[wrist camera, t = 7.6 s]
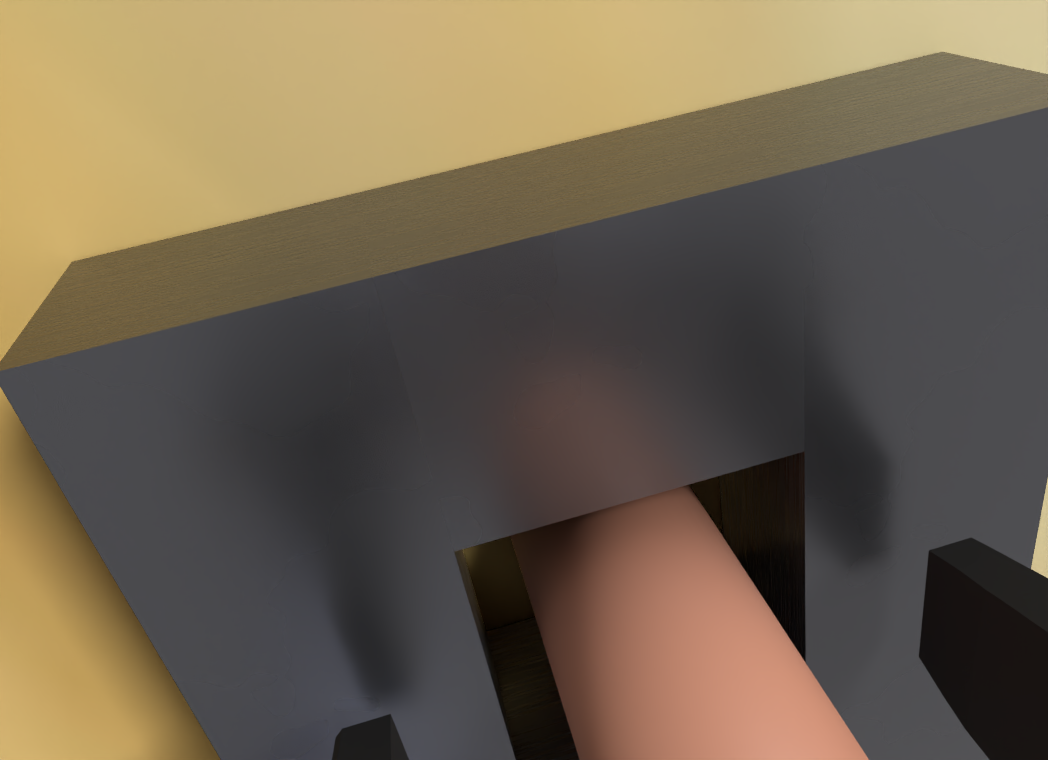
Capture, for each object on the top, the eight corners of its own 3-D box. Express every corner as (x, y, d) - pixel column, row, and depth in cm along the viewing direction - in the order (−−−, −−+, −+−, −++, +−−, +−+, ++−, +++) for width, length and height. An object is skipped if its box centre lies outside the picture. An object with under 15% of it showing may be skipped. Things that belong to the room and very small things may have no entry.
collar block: (897, 639, 18) (995, 761, 15) (343, 813, 17) (348, 976, 14) (942, 51, 12) (1119, 89, 9) (71, 261, 10) (-9, 372, 8)
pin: (678, 542, 15) (977, 1062, 8) (517, 583, 15) (689, 1161, 8) (671, 403, 14) (1029, 896, 7) (491, 445, 13) (677, 1011, 6)
